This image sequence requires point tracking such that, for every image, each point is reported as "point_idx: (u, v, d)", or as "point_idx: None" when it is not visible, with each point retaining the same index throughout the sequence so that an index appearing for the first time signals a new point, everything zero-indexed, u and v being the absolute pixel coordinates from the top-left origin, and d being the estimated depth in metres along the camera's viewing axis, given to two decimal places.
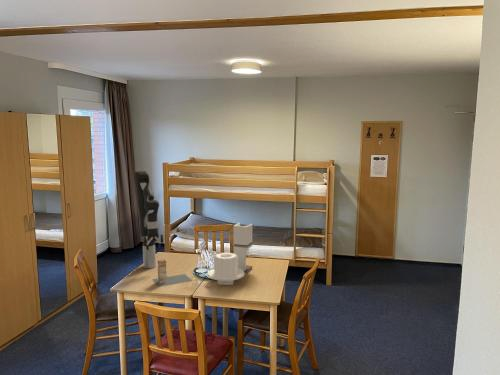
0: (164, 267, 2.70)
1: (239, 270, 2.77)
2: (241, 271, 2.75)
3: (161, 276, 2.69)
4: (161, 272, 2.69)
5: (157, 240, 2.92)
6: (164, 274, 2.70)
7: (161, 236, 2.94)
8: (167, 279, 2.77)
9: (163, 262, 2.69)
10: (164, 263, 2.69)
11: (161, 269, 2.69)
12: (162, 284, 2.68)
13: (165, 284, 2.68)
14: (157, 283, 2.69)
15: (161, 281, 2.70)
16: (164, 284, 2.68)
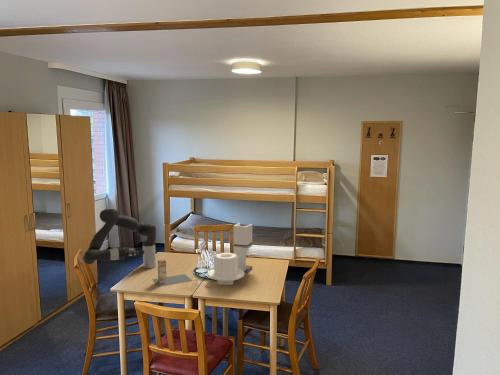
0: (164, 267, 2.70)
1: (239, 270, 2.77)
2: (241, 271, 2.75)
3: (161, 276, 2.69)
4: (161, 272, 2.69)
5: None
6: (164, 274, 2.70)
7: None
8: (167, 279, 2.77)
9: (163, 262, 2.69)
10: (164, 263, 2.69)
11: (161, 269, 2.69)
12: (162, 284, 2.68)
13: (165, 284, 2.68)
14: (157, 283, 2.69)
15: (161, 281, 2.70)
16: (164, 284, 2.68)
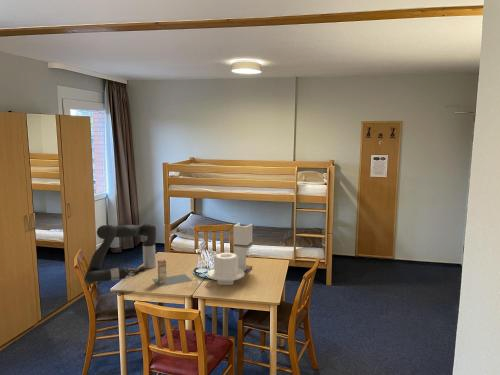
0: (164, 267, 2.70)
1: (239, 270, 2.77)
2: (241, 271, 2.75)
3: (161, 276, 2.69)
4: (161, 272, 2.69)
5: None
6: (164, 274, 2.70)
7: (133, 275, 2.58)
8: (167, 279, 2.77)
9: (163, 262, 2.69)
10: (164, 263, 2.69)
11: (161, 269, 2.69)
12: (162, 284, 2.68)
13: (165, 284, 2.68)
14: (157, 283, 2.69)
15: (161, 281, 2.70)
16: (164, 284, 2.68)
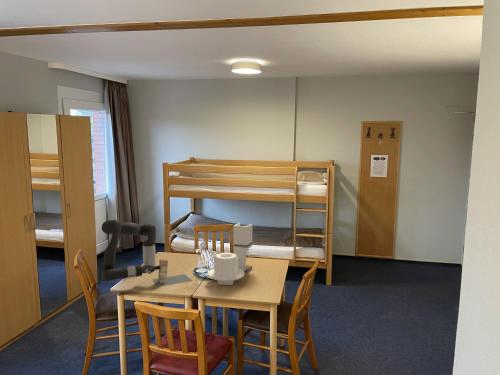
0: (165, 267, 2.70)
1: (239, 270, 2.77)
2: (241, 271, 2.75)
3: (162, 276, 2.70)
4: (162, 271, 2.69)
5: None
6: (165, 274, 2.71)
7: None
8: (167, 279, 2.77)
9: (165, 262, 2.70)
10: (166, 263, 2.70)
11: (162, 268, 2.69)
12: (162, 284, 2.68)
13: (165, 284, 2.68)
14: (157, 283, 2.69)
15: (161, 281, 2.70)
16: (164, 284, 2.68)
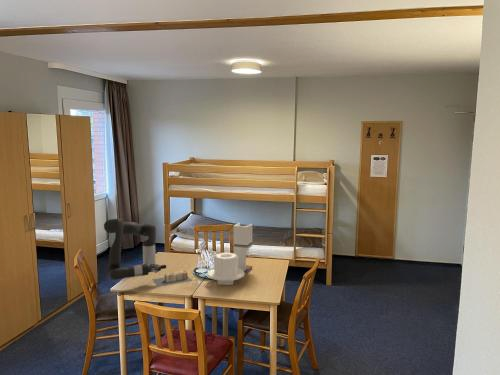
0: (181, 278, 2.77)
1: (239, 270, 2.77)
2: (241, 271, 2.75)
3: (173, 276, 2.73)
4: (177, 275, 2.75)
5: None
6: (174, 279, 2.74)
7: None
8: None
9: (186, 276, 2.78)
10: (185, 277, 2.78)
11: (180, 275, 2.76)
12: (162, 284, 2.68)
13: (165, 284, 2.68)
14: (157, 283, 2.69)
15: (168, 277, 2.72)
16: (164, 284, 2.68)
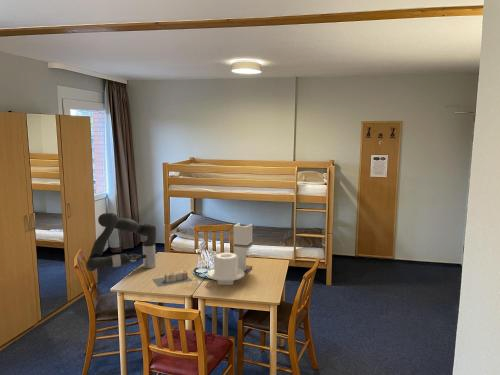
0: (181, 278, 2.77)
1: (239, 270, 2.77)
2: (241, 271, 2.75)
3: (173, 276, 2.73)
4: (177, 275, 2.75)
5: None
6: (174, 279, 2.74)
7: (134, 261, 2.58)
8: None
9: (186, 276, 2.78)
10: (185, 277, 2.78)
11: (180, 275, 2.76)
12: (162, 284, 2.68)
13: (165, 284, 2.68)
14: (157, 283, 2.69)
15: (168, 277, 2.72)
16: (164, 284, 2.68)
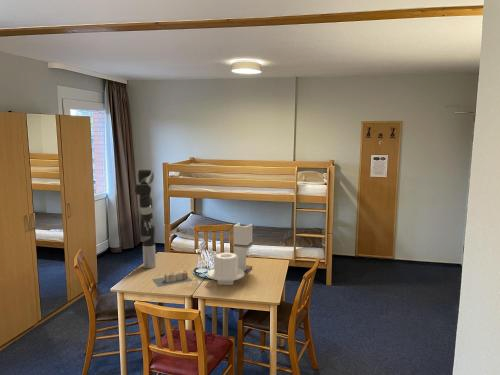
0: (181, 278, 2.77)
1: (239, 270, 2.77)
2: (241, 271, 2.75)
3: (173, 276, 2.73)
4: (177, 275, 2.75)
5: (146, 226, 2.73)
6: (174, 279, 2.74)
7: (148, 226, 2.69)
8: None
9: (186, 276, 2.78)
10: (185, 277, 2.78)
11: (180, 275, 2.76)
12: (162, 284, 2.68)
13: (165, 284, 2.68)
14: (157, 283, 2.69)
15: (168, 277, 2.72)
16: (164, 284, 2.68)
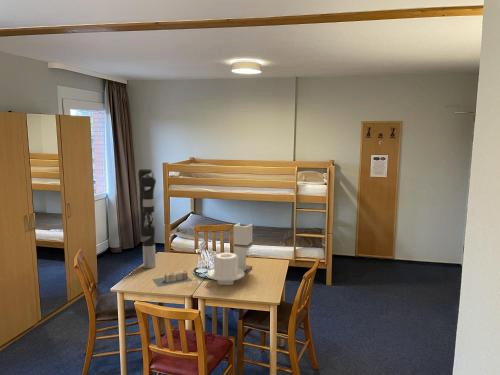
0: (181, 278, 2.77)
1: (239, 270, 2.77)
2: (241, 271, 2.75)
3: (173, 276, 2.73)
4: (177, 275, 2.75)
5: (146, 220, 2.74)
6: (174, 279, 2.74)
7: (148, 219, 2.71)
8: None
9: (186, 276, 2.78)
10: (185, 277, 2.78)
11: (180, 275, 2.76)
12: (162, 284, 2.68)
13: (165, 284, 2.68)
14: (157, 283, 2.69)
15: (168, 277, 2.72)
16: (164, 284, 2.68)
